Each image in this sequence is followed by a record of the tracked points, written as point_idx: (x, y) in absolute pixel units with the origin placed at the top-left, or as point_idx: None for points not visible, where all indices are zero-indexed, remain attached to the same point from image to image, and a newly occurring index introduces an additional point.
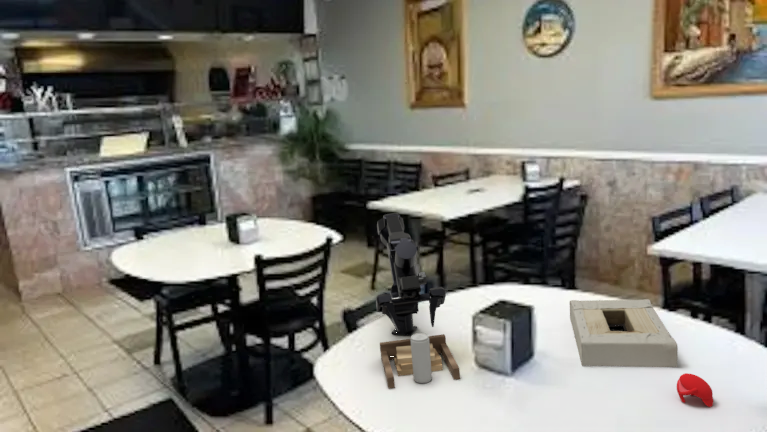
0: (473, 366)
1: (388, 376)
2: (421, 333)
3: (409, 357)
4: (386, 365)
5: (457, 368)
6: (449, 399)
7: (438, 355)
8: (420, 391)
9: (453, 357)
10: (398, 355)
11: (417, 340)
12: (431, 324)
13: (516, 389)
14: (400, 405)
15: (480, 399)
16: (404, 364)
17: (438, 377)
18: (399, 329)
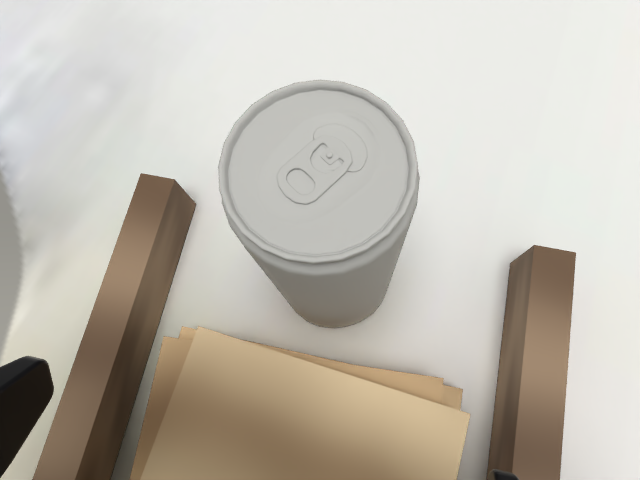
0: (33, 289)
1: (566, 266)
2: (260, 238)
3: (375, 389)
4: (547, 434)
5: (151, 175)
6: (301, 59)
7: (155, 394)
8: None
9: (92, 314)
10: (446, 471)
11: (371, 96)
12: (29, 421)
13: (25, 24)
14: (524, 98)
15: (189, 13)
16: (418, 380)
17: (252, 263)
18: (491, 475)
